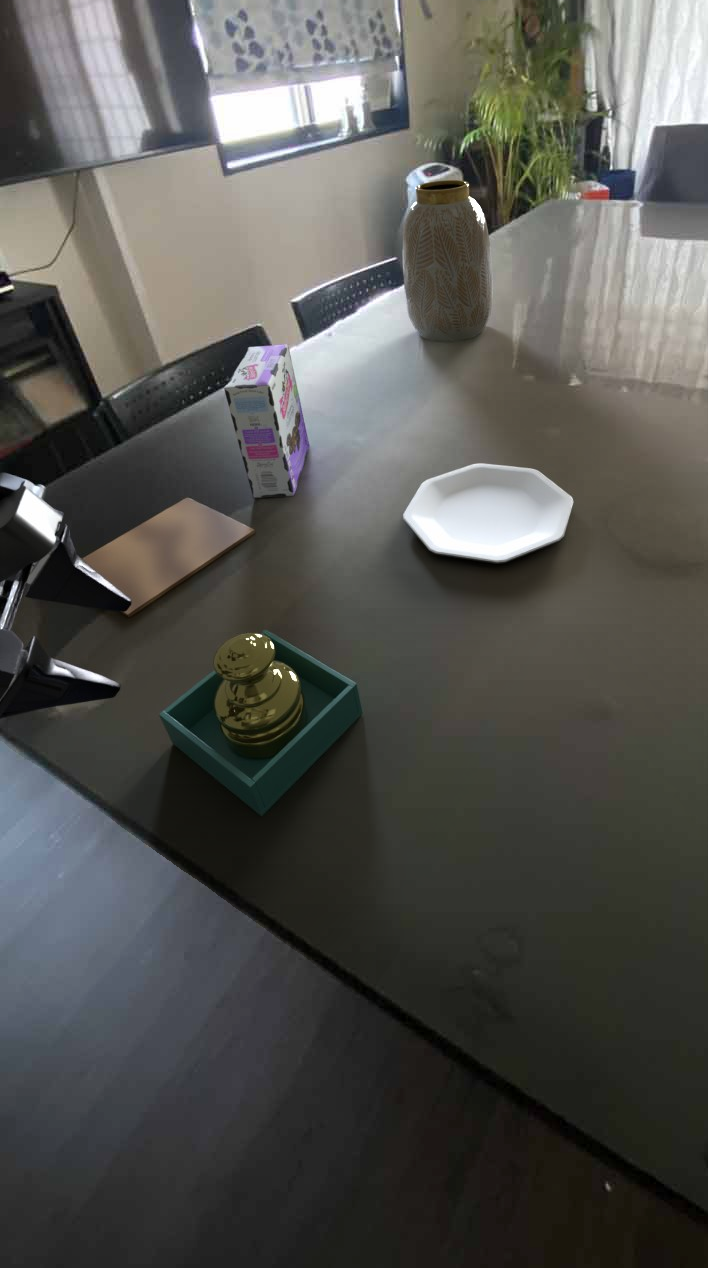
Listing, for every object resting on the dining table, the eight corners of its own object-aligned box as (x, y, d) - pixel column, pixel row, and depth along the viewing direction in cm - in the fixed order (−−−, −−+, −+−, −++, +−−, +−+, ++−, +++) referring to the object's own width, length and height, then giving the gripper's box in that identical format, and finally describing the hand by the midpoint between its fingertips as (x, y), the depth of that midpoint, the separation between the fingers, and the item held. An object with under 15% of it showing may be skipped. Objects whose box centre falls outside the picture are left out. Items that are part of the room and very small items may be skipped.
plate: (553, 580, 74) (554, 569, 73) (385, 554, 80) (384, 544, 79) (580, 483, 89) (581, 473, 88) (437, 467, 95) (436, 458, 94)
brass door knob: (309, 685, 64) (289, 607, 58) (307, 754, 58) (284, 673, 52) (230, 697, 63) (201, 619, 58) (219, 767, 57) (186, 688, 52)
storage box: (261, 816, 54) (250, 787, 52) (172, 743, 60) (158, 714, 58) (363, 713, 61) (356, 683, 59) (273, 657, 68) (265, 629, 65)
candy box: (295, 497, 91) (268, 384, 82) (251, 500, 92) (221, 387, 82) (311, 446, 103) (289, 341, 93) (272, 448, 103) (247, 344, 94)
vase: (418, 315, 147) (406, 178, 131) (498, 314, 143) (495, 173, 128) (400, 346, 133) (384, 197, 118) (487, 346, 129) (483, 192, 114)
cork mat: (128, 618, 74) (127, 614, 74) (64, 573, 82) (62, 569, 81) (255, 532, 85) (254, 529, 85) (188, 500, 93) (187, 497, 93)
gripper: (-118, 567, 34) (175, 663, 42) (-19, 409, 49) (182, 503, 57) (-201, 712, 37) (87, 775, 45) (-84, 521, 52) (116, 595, 60)
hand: (124, 645), depth 52 cm, fingers open, 9 cm apart
